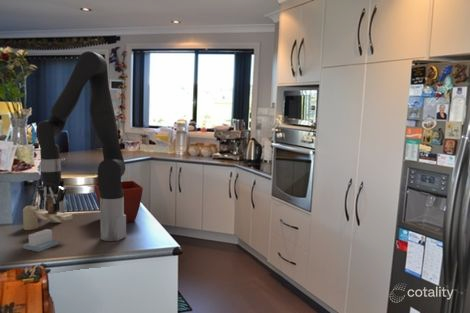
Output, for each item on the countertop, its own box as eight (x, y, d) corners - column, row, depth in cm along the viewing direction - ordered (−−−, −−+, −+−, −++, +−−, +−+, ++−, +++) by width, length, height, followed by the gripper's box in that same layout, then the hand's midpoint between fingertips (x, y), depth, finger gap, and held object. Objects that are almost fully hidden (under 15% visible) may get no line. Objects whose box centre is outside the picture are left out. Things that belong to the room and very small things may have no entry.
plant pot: (101, 227, 177) (100, 190, 175) (94, 217, 194) (93, 183, 192) (143, 222, 186) (143, 187, 184) (133, 213, 203) (133, 180, 201)
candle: (36, 229, 171) (35, 207, 170) (22, 230, 170) (21, 207, 169) (38, 226, 177) (38, 204, 175) (25, 226, 175) (24, 204, 174)
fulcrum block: (58, 244, 154) (57, 230, 153) (38, 251, 146) (38, 237, 145) (42, 241, 157) (42, 227, 156) (23, 248, 148) (22, 234, 148)
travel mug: (60, 218, 189) (59, 177, 187) (67, 221, 185) (66, 179, 183) (47, 221, 184) (46, 179, 182) (54, 224, 180) (53, 180, 178)
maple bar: (72, 220, 160) (71, 198, 159) (64, 223, 157) (63, 200, 156) (41, 215, 168) (40, 194, 167) (33, 217, 164) (32, 196, 163)
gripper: (71, 169, 161) (72, 211, 163) (45, 167, 166) (46, 207, 168) (56, 172, 154) (58, 215, 156) (30, 169, 159) (32, 211, 161)
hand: (52, 211), depth 162 cm, fingers closed on maple bar, 3 cm apart
